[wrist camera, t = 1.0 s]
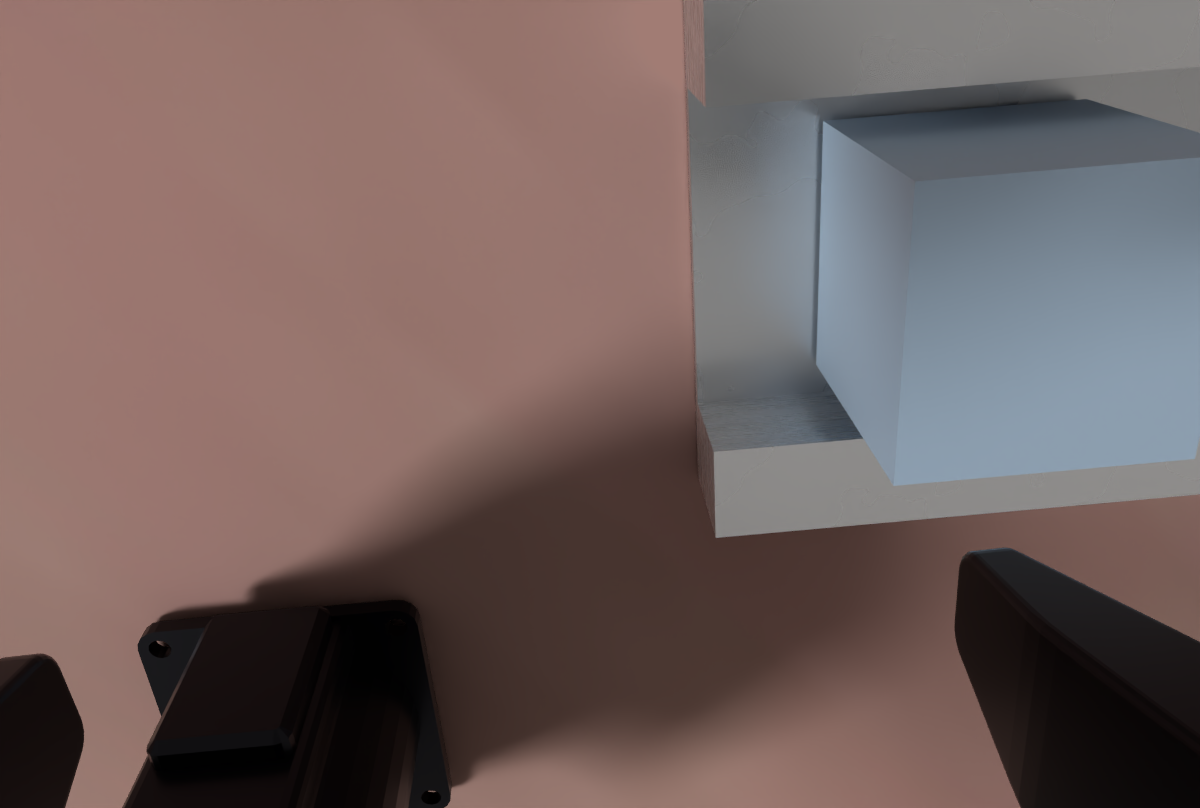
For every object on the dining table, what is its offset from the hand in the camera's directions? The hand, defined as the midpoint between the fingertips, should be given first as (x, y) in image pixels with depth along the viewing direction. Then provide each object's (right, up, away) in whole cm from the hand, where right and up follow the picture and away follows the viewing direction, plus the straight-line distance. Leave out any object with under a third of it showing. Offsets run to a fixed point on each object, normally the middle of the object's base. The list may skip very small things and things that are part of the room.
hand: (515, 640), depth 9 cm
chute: (+9, +6, +11) cm, 15 cm away
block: (+8, +6, +11) cm, 15 cm away
